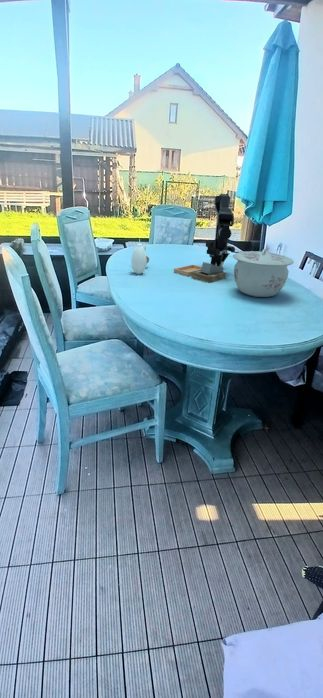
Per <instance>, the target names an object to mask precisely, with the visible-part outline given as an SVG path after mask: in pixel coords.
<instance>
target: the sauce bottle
mask: <svg viewBox="0 0 323 698" xmlns="http://www.w3.org/2000/svg"><path fill="white" fill-rule="evenodd" d="M138 240H139V241H138V243H137V244H136V246H135V248H134V250H133V252H132V256H131V263H130V264H131V267H132V270H133V272H135V274H137V275H140V274H143V272H145V270H146V268H147V265H146V264H148V263H147V258H146V256H147V254H146V249H145V250H144V248H145V247H143V244H142V243H141V239H140V238H139V239H138Z"/></svg>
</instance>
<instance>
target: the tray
mask: <svg viewBox="0 0 323 698" xmlns="http://www.w3.org/2000/svg"><path fill="white" fill-rule="evenodd" d="M201 268H202V265H201V266H199V265H196V264H189V265H185V266H181V267H180V266H179V267H175V268H173V274H177V273H178V275H181V274H182V276H185V277H191V276H192V272H196V271H200V270H201Z"/></svg>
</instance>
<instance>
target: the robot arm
mask: <svg viewBox="0 0 323 698" xmlns="http://www.w3.org/2000/svg"><path fill="white" fill-rule="evenodd" d="M230 204H231V196H230V195H229V194H228V193H227V194H226V193H220V194H218V195H216V196H214V201H213V205H214V210H215V212H216V223H215V224H216V225H215V235H214V236H215V237H214V240H213V241H211V240H206V241H205V247H206V248H207V249H206V254H207V255H209V258H210V264H213V265H216V264H217V266H220V263H221V261H222V262H224V263H225V261H226V259H228V257H229V255H230V253H236V252H235V251H236V248H235V246H233V245H228V242H230V241H231V239H230V238H231V236H232V231H231V229H230V227H233V226H234V224H235V215H234V214H233V211H232V210H233V209H231V208H230V207H229V206H230ZM229 252H230V253H229ZM222 268H223V269H224V266H223V267H222Z"/></svg>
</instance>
